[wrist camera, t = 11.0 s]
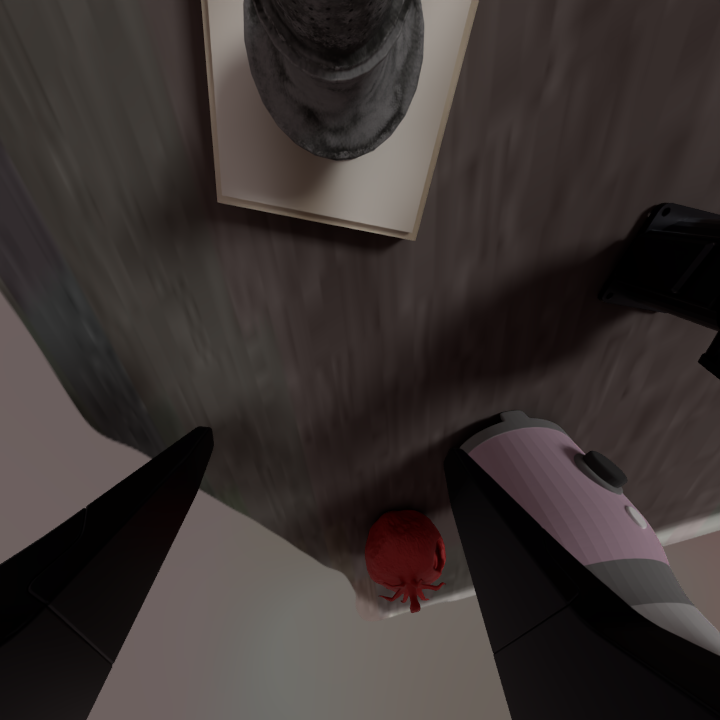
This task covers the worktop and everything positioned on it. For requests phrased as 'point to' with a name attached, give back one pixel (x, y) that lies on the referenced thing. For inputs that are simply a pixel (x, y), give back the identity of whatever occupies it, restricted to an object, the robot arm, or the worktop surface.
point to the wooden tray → (321, 175)
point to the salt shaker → (335, 69)
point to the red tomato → (405, 554)
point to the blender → (589, 517)
